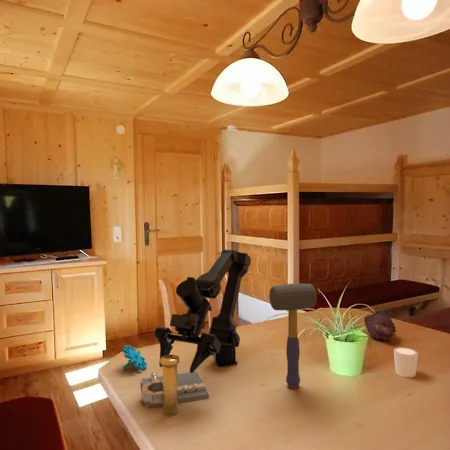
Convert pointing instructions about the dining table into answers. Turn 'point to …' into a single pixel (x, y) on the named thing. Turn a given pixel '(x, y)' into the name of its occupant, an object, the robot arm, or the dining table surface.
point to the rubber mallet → (292, 320)
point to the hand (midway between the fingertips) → (175, 369)
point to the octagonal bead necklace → (157, 385)
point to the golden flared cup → (170, 384)
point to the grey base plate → (181, 380)
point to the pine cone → (380, 326)
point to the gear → (134, 357)
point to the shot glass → (405, 361)
